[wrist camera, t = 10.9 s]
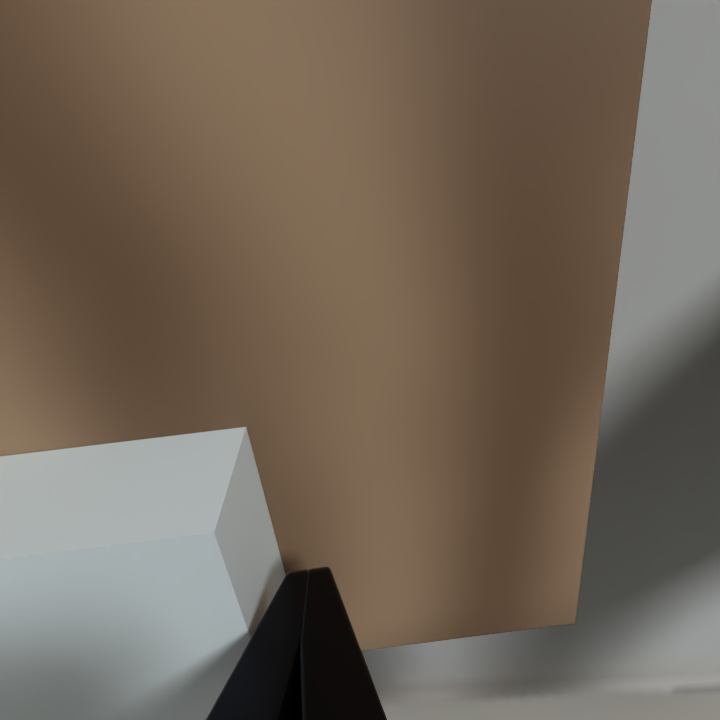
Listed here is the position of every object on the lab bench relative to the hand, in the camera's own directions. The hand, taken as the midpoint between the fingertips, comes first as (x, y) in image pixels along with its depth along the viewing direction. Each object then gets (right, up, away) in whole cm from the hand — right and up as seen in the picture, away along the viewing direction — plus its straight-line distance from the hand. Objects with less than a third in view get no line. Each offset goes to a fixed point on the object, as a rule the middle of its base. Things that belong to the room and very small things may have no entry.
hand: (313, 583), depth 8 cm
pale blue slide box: (-5, 0, +1) cm, 5 cm away
